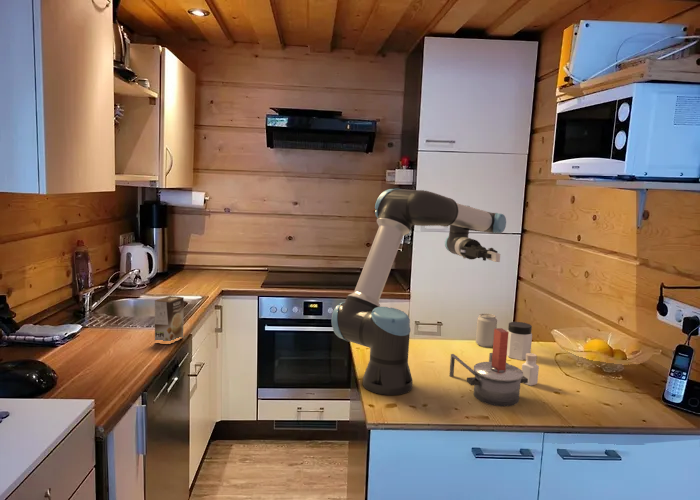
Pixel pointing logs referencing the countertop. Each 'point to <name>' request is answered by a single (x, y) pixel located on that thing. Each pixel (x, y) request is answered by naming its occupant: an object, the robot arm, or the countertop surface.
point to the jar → (519, 340)
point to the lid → (499, 361)
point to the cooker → (491, 387)
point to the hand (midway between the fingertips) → (497, 257)
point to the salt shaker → (530, 369)
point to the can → (485, 330)
